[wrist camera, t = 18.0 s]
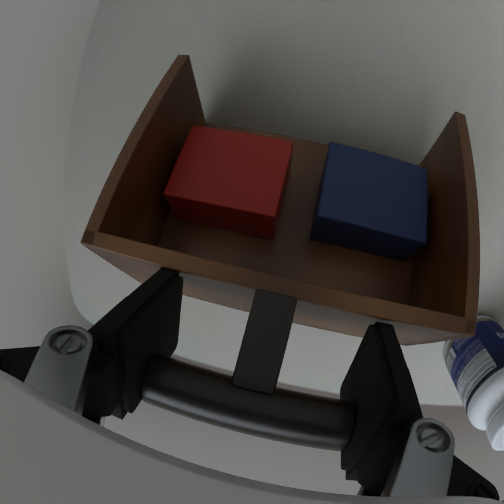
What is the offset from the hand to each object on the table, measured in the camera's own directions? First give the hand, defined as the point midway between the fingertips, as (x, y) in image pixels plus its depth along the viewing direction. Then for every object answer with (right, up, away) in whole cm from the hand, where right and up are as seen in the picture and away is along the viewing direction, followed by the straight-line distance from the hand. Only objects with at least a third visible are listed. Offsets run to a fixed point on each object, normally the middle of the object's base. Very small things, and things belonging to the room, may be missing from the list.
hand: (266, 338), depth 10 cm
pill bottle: (+17, -4, +10) cm, 20 cm away
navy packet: (+5, +5, +6) cm, 9 cm away
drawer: (+1, +2, +6) cm, 6 cm away
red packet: (-1, +6, +6) cm, 9 cm away
